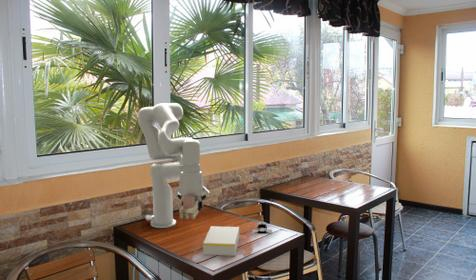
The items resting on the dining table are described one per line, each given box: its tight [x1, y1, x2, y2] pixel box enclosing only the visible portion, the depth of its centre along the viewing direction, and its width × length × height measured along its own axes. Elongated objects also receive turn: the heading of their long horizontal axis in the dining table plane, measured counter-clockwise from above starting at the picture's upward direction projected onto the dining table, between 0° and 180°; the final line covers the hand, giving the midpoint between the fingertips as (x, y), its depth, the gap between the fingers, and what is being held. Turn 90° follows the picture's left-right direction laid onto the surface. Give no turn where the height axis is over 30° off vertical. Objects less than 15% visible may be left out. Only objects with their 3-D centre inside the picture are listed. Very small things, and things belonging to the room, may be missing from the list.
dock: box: [202, 225, 240, 257], centre depth 172 cm, size 13×20×5 cm, turn 175°
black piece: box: [251, 221, 273, 235], centre depth 190 cm, size 12×7×5 cm, turn 87°
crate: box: [183, 196, 195, 208], centre depth 166 cm, size 4×4×4 cm
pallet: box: [178, 199, 205, 220], centre depth 172 cm, size 6×20×4 cm, turn 174°
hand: (192, 209), depth 173 cm, fingers closed on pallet, 6 cm apart
